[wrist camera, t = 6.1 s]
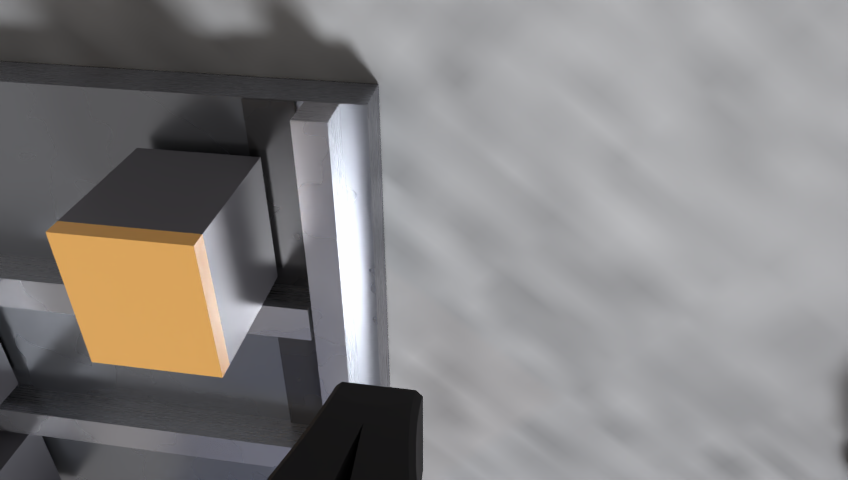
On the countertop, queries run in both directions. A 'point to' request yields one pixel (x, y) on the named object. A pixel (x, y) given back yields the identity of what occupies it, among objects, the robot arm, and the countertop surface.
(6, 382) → the block
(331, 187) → the panel
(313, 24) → the countertop surface
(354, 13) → the countertop surface
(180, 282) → the block
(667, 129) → the countertop surface
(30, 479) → the block
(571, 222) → the countertop surface
